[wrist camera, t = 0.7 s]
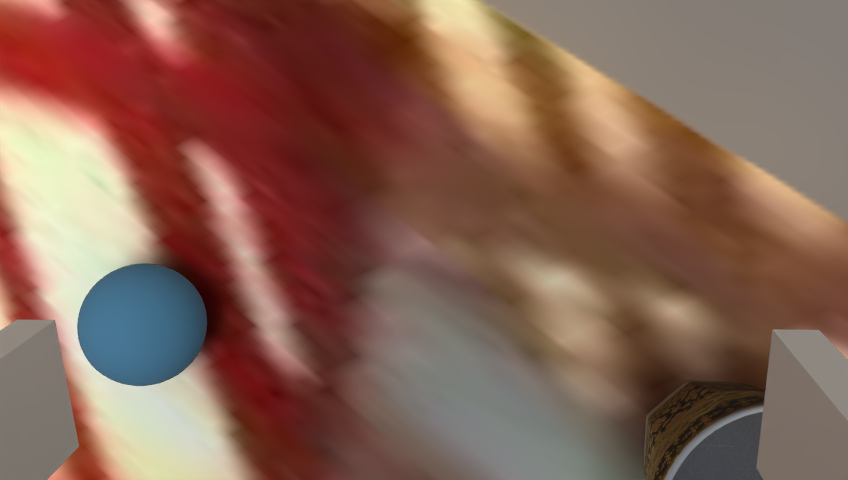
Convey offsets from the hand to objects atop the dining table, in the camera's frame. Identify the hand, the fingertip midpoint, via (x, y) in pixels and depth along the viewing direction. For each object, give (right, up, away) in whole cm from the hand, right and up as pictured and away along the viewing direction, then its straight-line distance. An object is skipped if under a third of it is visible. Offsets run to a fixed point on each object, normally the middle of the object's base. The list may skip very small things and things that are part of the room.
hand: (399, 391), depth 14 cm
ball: (-13, -1, +24) cm, 27 cm away
